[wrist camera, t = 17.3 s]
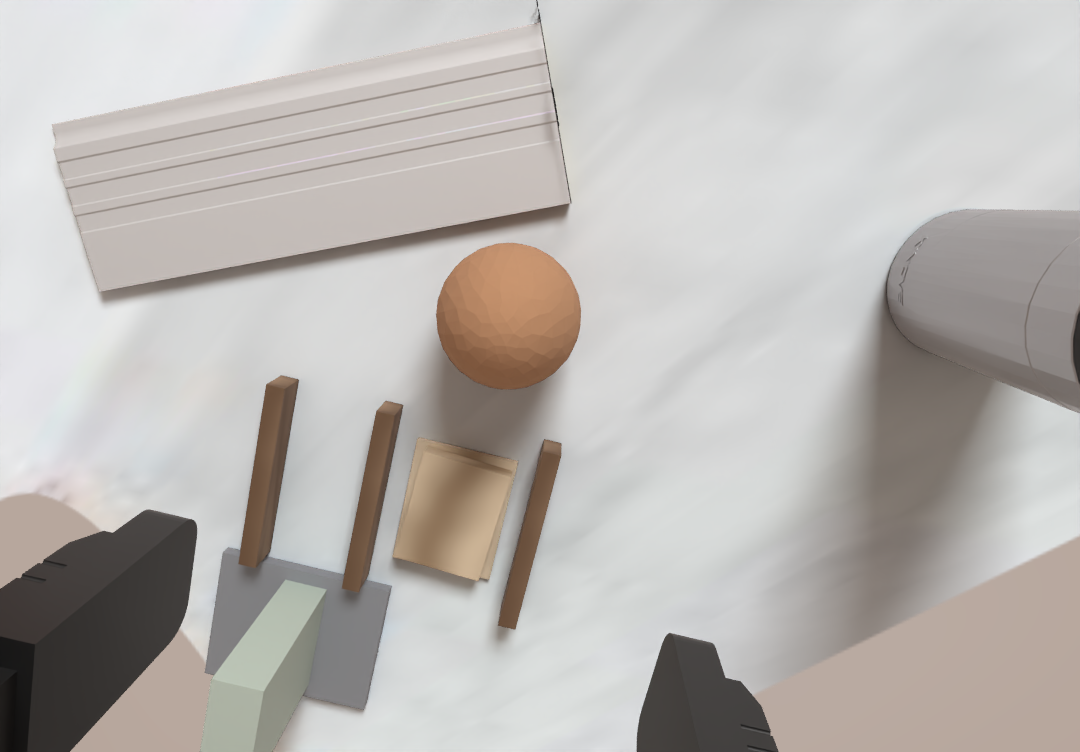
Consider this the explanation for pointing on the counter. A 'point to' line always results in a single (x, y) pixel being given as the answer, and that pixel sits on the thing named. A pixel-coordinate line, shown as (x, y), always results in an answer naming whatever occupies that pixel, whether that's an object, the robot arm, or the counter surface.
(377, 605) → the rubber mat
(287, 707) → the pale green block
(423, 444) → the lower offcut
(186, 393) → the counter surface
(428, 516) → the upper offcut
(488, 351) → the egg
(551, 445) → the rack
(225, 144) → the baseboard molding
